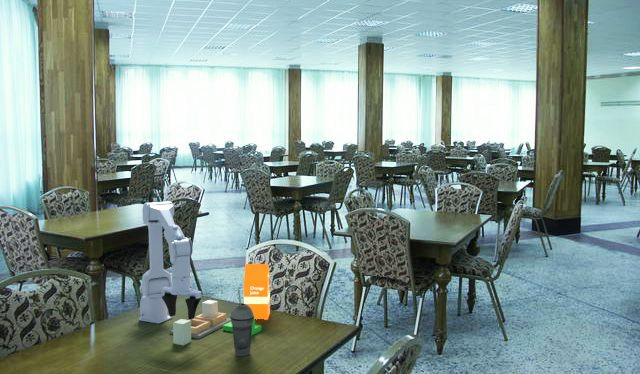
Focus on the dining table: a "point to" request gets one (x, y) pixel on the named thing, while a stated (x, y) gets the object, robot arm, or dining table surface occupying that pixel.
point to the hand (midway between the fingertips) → (181, 317)
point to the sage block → (182, 332)
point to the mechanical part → (254, 327)
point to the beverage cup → (242, 327)
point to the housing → (206, 325)
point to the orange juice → (257, 289)
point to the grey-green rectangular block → (210, 309)
